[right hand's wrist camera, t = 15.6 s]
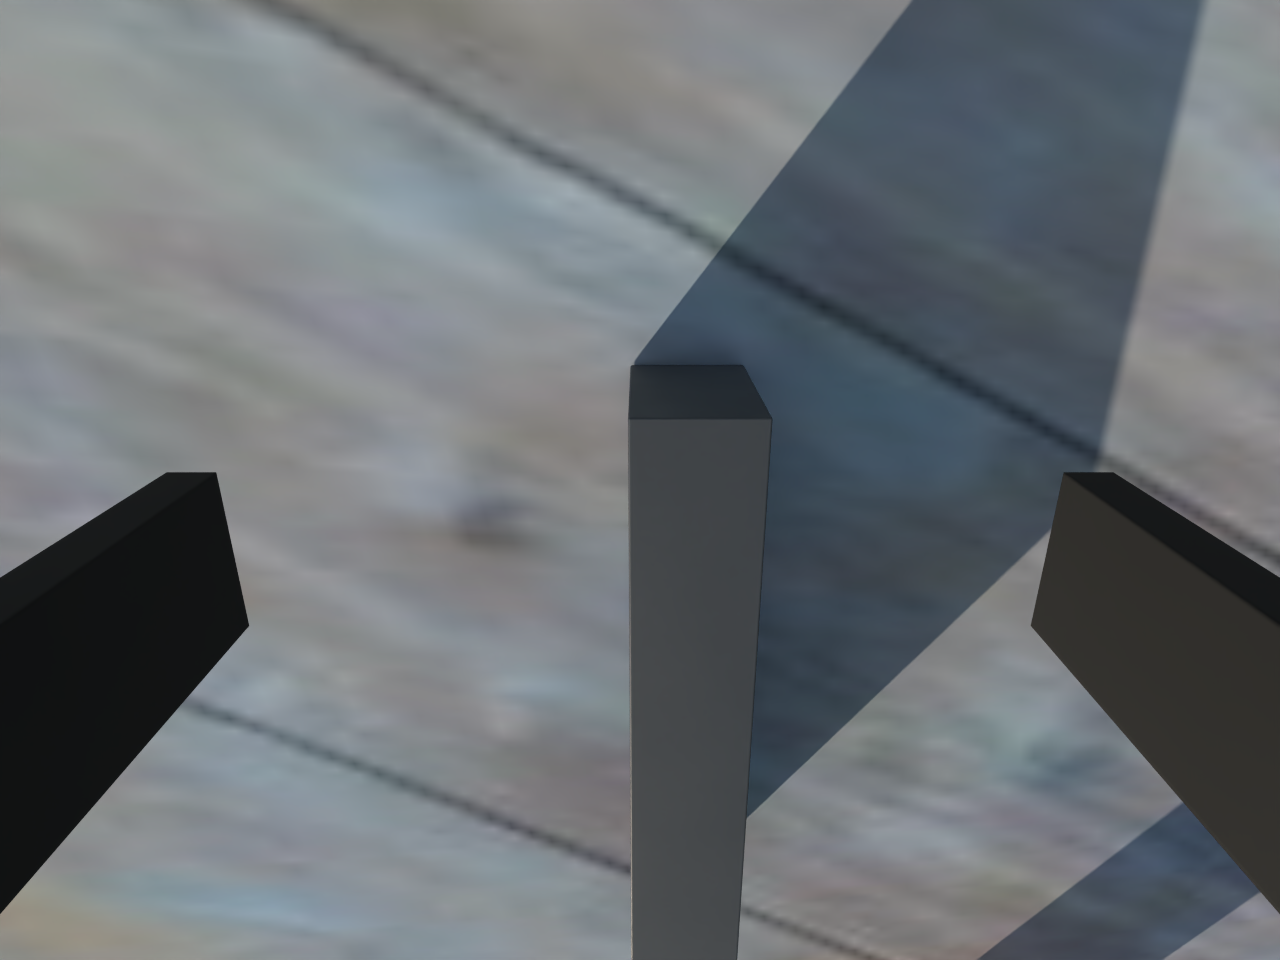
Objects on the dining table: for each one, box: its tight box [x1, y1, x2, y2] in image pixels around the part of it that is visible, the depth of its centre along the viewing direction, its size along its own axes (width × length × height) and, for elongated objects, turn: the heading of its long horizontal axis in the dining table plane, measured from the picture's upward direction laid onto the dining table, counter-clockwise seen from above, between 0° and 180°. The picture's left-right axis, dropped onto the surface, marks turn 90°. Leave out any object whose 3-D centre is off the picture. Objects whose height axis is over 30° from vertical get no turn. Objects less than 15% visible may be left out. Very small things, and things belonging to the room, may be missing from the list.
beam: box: [628, 365, 772, 960], centre depth 36 cm, size 28×5×8 cm, turn 0°
